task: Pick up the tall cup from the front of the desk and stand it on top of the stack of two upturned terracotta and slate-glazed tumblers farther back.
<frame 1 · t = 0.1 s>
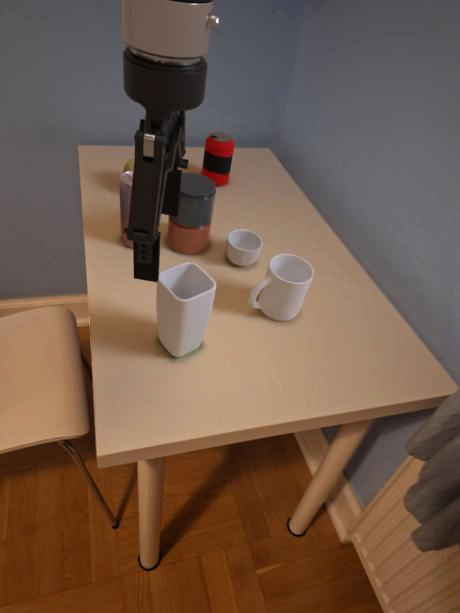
hand: (158, 243, 51), 24 cm above the table, tool pointing down, fingers open, 13 cm apart
teacup: (239, 257, 90), on the table
beverage can: (135, 241, 88), on the table
tumbler stack: (187, 241, 91), on the table
mug: (269, 310, 80), on the table
apple: (143, 190, 103), on the table
soda can: (214, 180, 112), on the table
cup: (179, 343, 71), on the table
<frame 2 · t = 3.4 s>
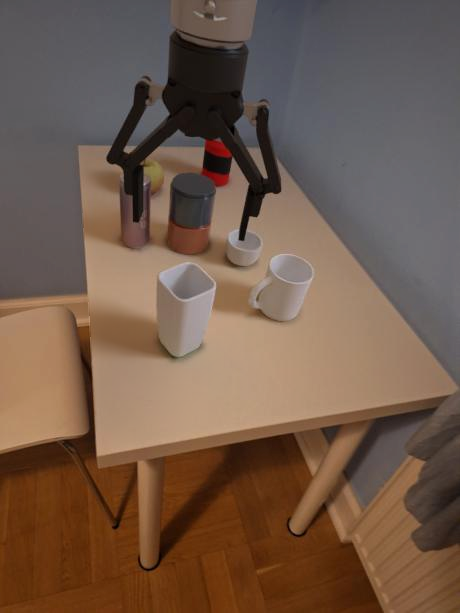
hand: (190, 226, 53), 25 cm above the table, tool pointing down, fingers open, 13 cm apart
nothing on the table moved.
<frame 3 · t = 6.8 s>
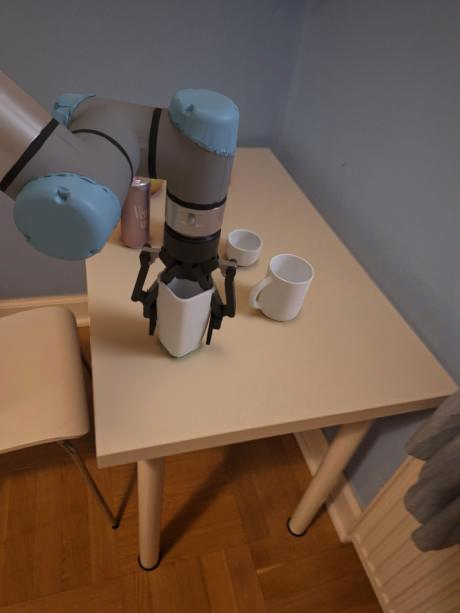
hand: (180, 334, 69), 2 cm above the table, tool pointing down, fingers closed on cup, 9 cm apart
cup: (179, 343, 71), on the table, touching gripper
everything else where it was.
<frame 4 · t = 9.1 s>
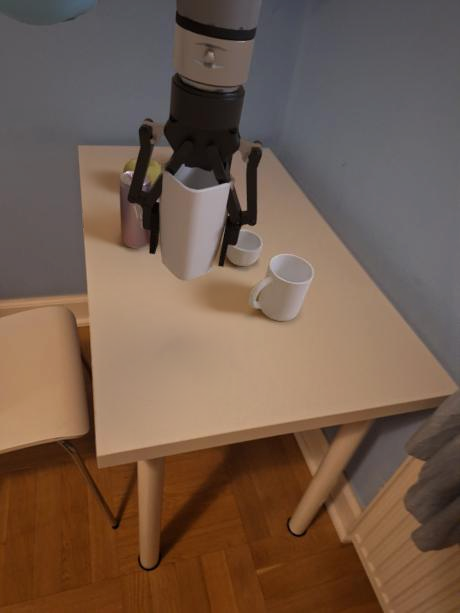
hand: (188, 254, 56), 20 cm above the table, tool pointing down, fingers closed on cup, 9 cm apart
cup: (186, 268, 58), point 17 cm above the table, touching gripper
everything else where it was.
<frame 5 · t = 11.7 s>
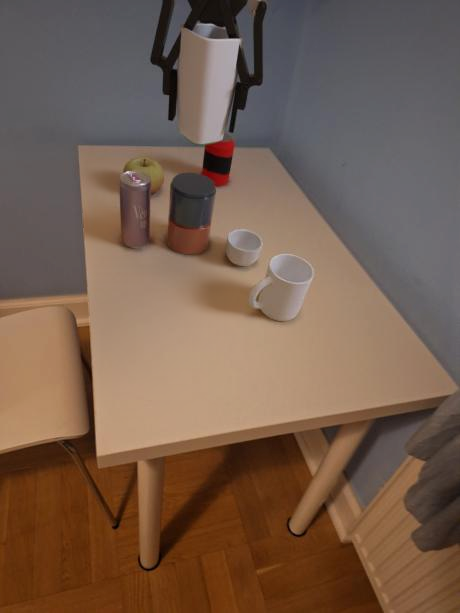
hand: (201, 123, 64), 30 cm above the table, tool pointing down, fingers closed on cup, 9 cm apart
cup: (200, 139, 66), point 27 cm above the table, touching gripper
everything else where it was.
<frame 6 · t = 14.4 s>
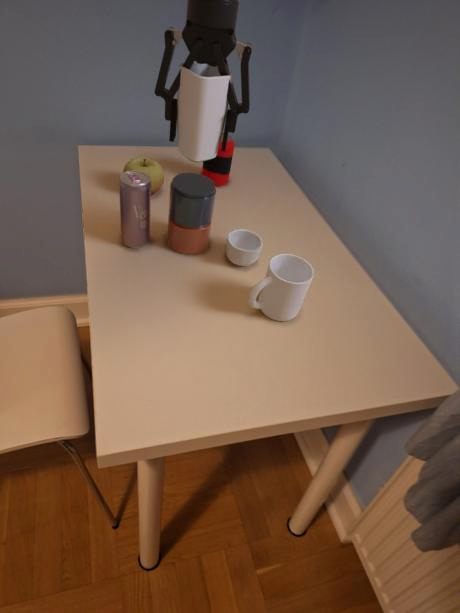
hand: (198, 143, 75), 23 cm above the table, tool pointing down, fingers closed on cup, 9 cm apart
cup: (196, 156, 77), point 20 cm above the table, touching gripper
everything else where it was.
when the fingers open (17 cm above the table, at t = 16.6 s): cup stays where it is, resting on tumbler stack.
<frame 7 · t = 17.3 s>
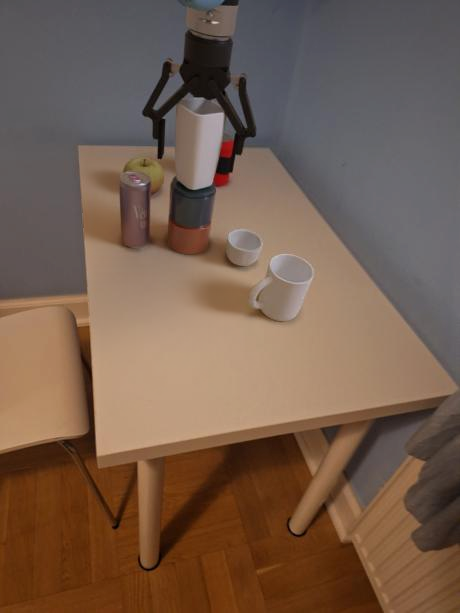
hand: (195, 163, 77), 19 cm above the table, tool pointing down, fingers open, 13 cm apart
cup: (193, 184, 81), point 14 cm above the table, touching tumbler stack
everything else where it was.
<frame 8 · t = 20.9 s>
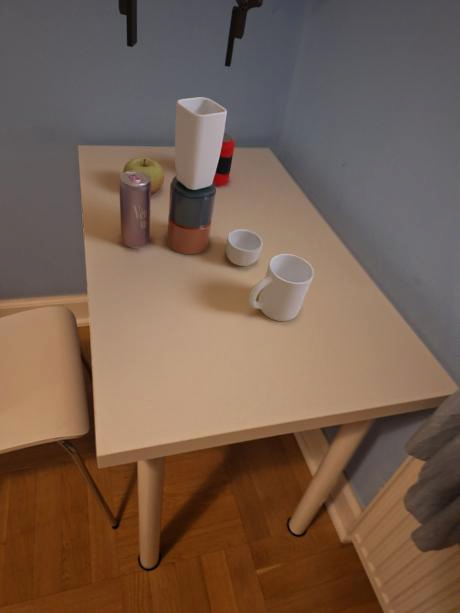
hand: (180, 54, 57), 39 cm above the table, tool pointing down, fingers open, 13 cm apart
nothing on the table moved.
at the end: cup 0.0 cm off-centre on the tumbler stack, point 14.2 cm above the tumbler stack's base; cup tilted 0°; the gripper is holding nothing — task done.
